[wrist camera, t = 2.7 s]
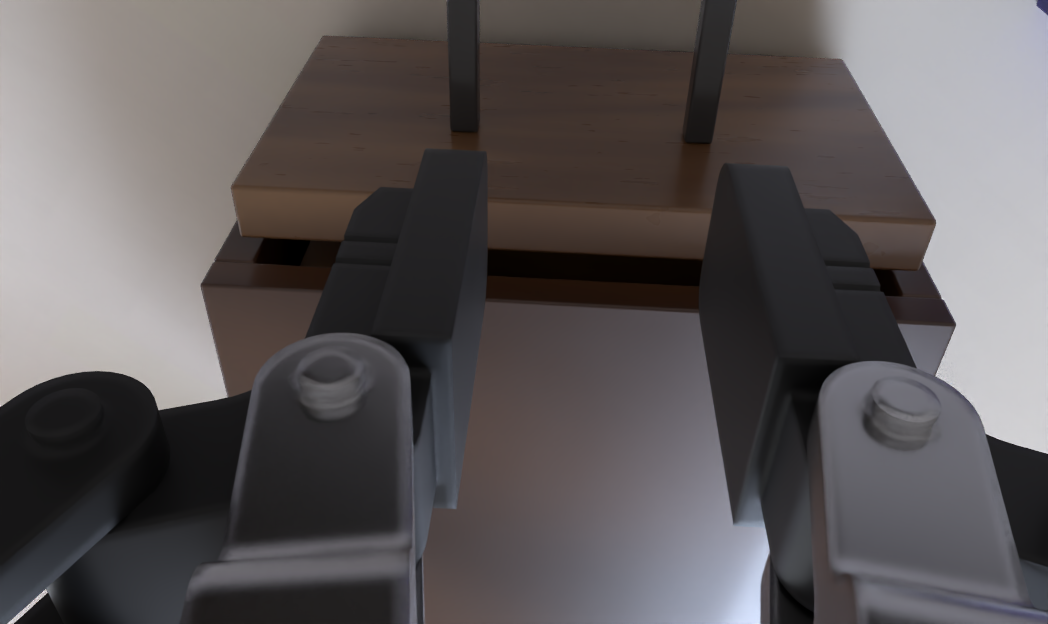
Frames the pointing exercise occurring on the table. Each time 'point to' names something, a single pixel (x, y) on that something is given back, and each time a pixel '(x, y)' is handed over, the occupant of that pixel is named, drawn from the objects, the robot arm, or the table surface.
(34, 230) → the table surface
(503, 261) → the drawer
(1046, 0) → the blue-violet rectangular block
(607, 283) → the cabinet
